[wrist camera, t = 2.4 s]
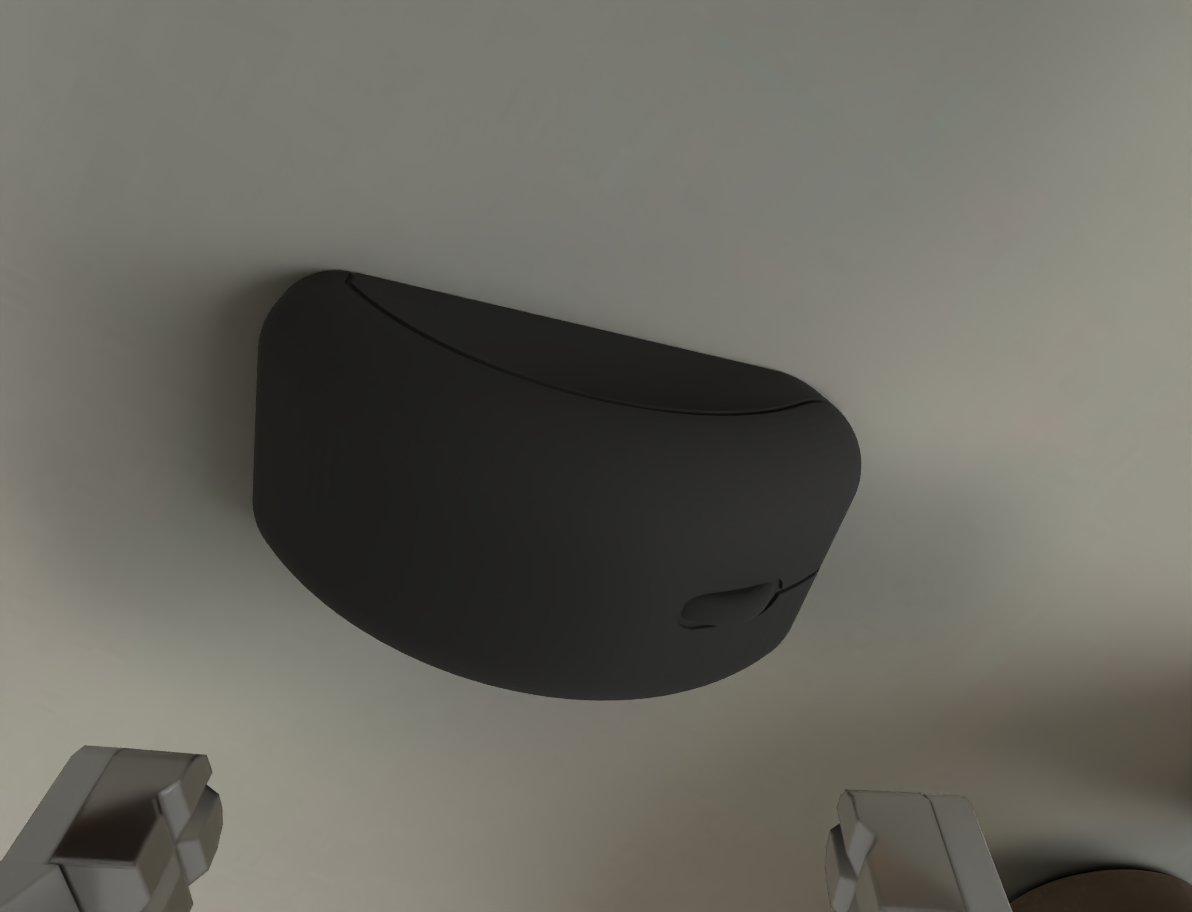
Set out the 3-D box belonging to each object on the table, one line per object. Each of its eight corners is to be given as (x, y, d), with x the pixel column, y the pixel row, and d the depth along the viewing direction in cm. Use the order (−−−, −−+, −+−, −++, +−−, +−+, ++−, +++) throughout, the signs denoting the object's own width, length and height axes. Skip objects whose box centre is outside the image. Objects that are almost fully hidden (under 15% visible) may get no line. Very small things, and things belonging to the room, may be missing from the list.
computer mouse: (764, 630, 20) (791, 778, 17) (262, 528, 19) (183, 665, 16) (874, 392, 17) (935, 518, 13) (274, 251, 16) (177, 350, 12)
